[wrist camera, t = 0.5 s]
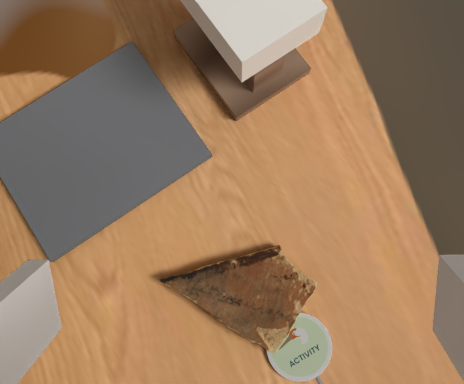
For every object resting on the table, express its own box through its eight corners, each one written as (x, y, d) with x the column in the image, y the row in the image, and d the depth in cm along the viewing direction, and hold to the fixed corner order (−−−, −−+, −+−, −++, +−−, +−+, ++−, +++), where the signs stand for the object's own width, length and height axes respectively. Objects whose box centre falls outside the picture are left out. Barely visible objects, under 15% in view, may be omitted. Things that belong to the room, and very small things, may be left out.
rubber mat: (133, 44, 39) (132, 41, 39) (212, 156, 37) (212, 154, 37) (-20, 139, 38) (-24, 137, 37) (53, 261, 36) (50, 261, 35)
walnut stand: (308, 73, 39) (324, 29, 32) (236, 121, 38) (235, 86, 31) (245, -8, 40) (247, -66, 33) (174, 36, 39) (161, -14, 33)
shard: (162, 280, 36) (158, 280, 34) (212, 204, 37) (211, 200, 35) (272, 355, 34) (274, 359, 33) (321, 274, 36) (325, 274, 34)
